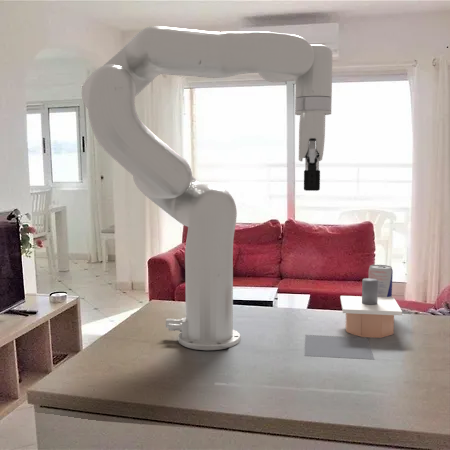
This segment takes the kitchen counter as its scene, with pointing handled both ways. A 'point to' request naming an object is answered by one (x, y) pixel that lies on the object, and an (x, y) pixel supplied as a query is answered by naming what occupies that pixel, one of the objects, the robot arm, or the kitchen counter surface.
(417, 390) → the kitchen counter surface
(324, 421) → the kitchen counter surface
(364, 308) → the lid
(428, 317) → the kitchen counter surface
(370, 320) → the bowl
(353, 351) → the mat
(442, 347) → the kitchen counter surface
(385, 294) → the energy drink
